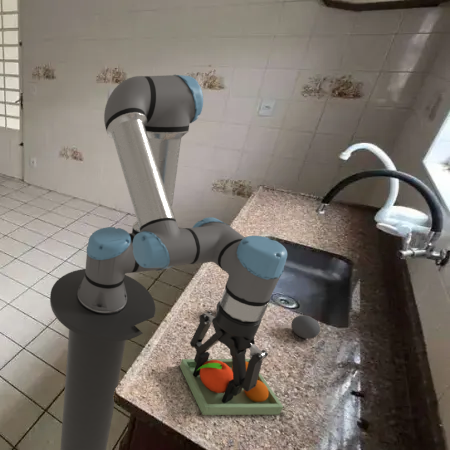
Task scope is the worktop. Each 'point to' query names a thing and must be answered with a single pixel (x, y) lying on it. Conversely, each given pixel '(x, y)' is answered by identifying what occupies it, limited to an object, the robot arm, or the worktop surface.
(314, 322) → the grey ball
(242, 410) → the tray
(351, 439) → the worktop surface
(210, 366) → the clementine
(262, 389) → the orange ball
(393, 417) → the worktop surface
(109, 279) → the robot arm
